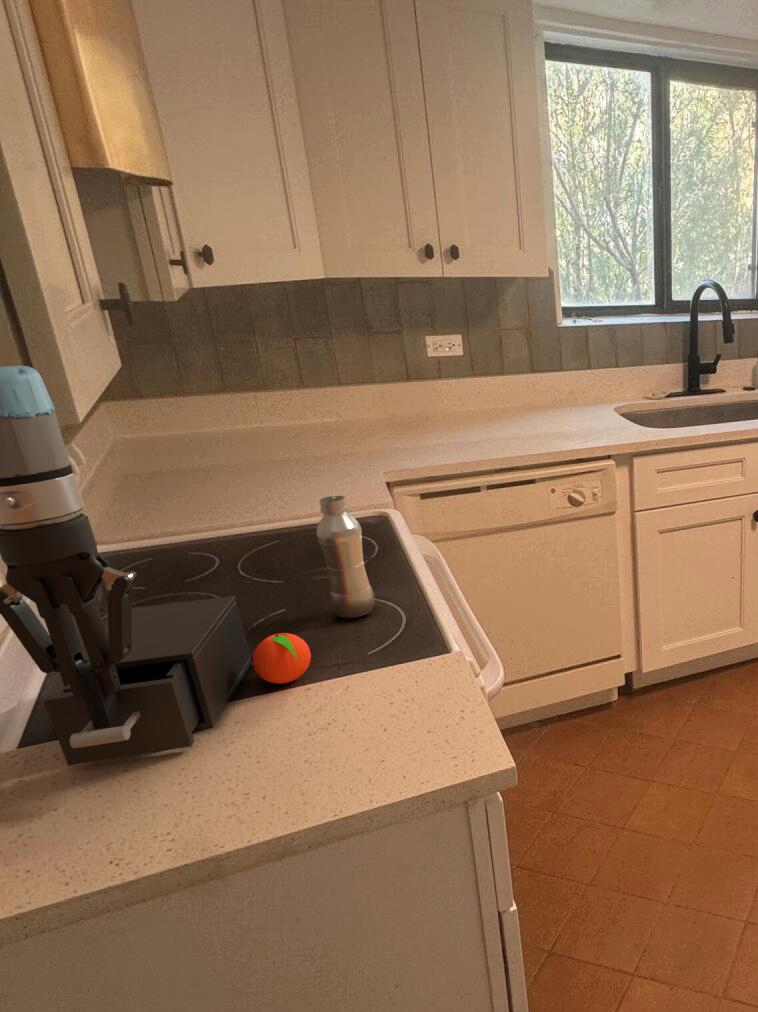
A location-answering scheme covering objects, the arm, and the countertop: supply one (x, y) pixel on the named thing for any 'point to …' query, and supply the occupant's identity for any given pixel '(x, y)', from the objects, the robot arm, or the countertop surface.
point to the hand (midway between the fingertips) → (108, 721)
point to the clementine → (281, 658)
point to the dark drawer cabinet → (192, 647)
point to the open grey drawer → (131, 715)
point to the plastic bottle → (344, 559)
